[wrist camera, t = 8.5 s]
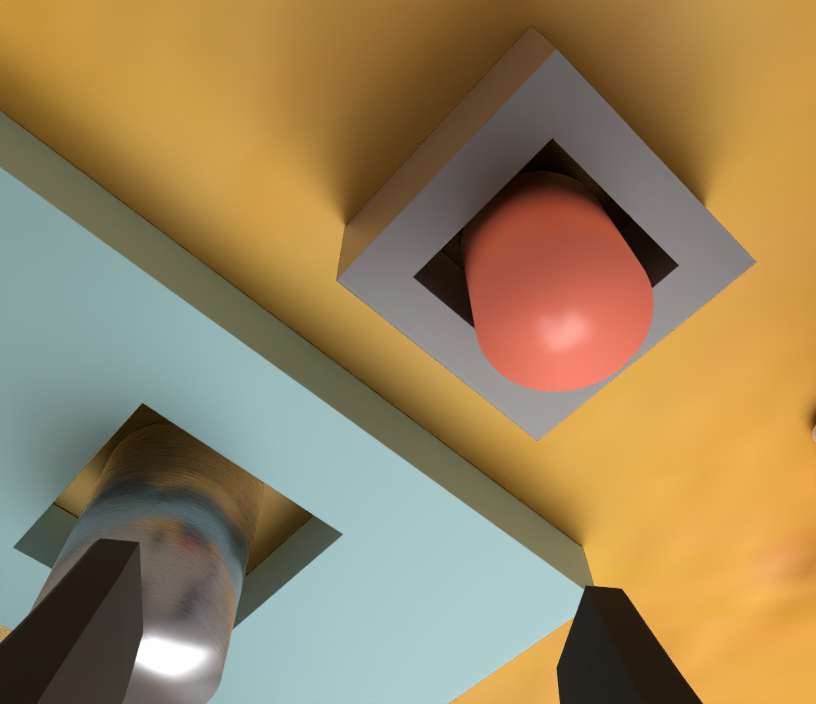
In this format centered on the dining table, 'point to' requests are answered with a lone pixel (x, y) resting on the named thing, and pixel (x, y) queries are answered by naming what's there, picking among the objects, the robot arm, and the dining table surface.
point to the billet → (174, 554)
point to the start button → (553, 285)
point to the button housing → (483, 178)
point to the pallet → (254, 460)
